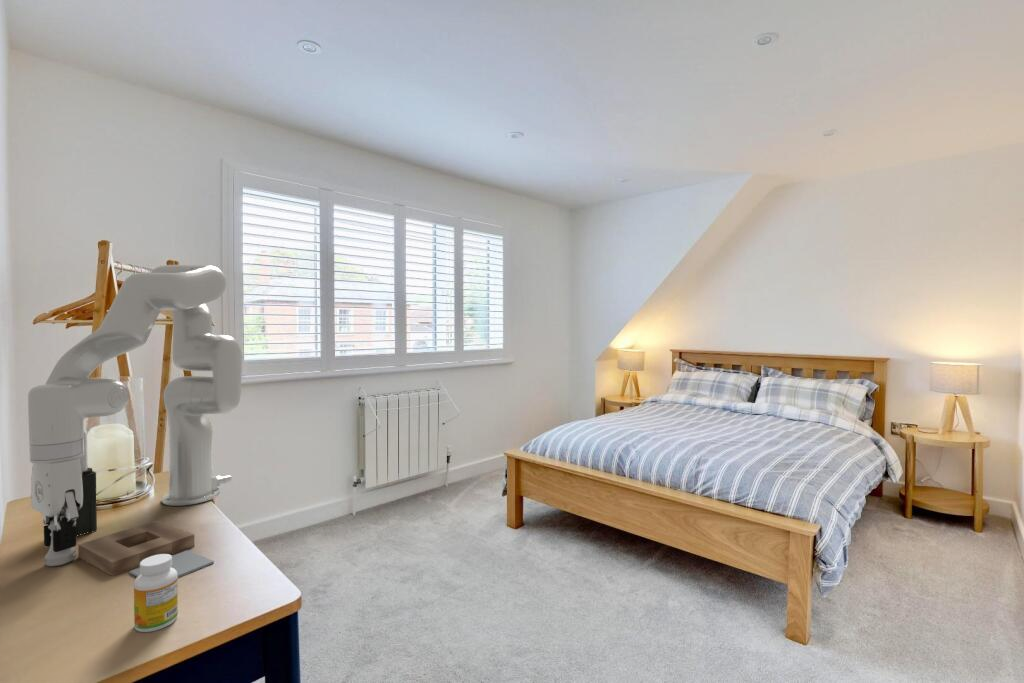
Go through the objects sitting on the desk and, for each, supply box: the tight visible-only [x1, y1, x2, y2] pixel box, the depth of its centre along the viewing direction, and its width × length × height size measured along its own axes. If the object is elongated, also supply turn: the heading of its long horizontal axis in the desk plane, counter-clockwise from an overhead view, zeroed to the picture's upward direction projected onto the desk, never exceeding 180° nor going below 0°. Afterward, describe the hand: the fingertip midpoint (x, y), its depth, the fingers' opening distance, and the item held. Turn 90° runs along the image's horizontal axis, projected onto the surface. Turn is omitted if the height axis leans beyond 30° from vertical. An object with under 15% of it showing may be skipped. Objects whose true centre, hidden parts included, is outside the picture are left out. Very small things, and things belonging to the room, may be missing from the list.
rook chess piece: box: [44, 518, 77, 567], centre depth 94 cm, size 4×4×8 cm
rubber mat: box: [128, 549, 215, 578], centre depth 92 cm, size 10×9×1 cm
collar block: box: [77, 520, 195, 577], centre depth 99 cm, size 14×14×2 cm
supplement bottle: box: [133, 554, 179, 633], centre depth 75 cm, size 5×5×10 cm
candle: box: [64, 428, 98, 537], centre depth 107 cm, size 5×5×25 cm
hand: (60, 545), depth 94 cm, fingers closed on rook chess piece, 3 cm apart
